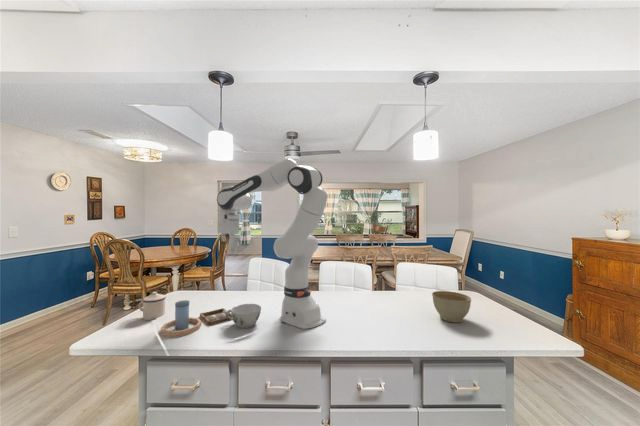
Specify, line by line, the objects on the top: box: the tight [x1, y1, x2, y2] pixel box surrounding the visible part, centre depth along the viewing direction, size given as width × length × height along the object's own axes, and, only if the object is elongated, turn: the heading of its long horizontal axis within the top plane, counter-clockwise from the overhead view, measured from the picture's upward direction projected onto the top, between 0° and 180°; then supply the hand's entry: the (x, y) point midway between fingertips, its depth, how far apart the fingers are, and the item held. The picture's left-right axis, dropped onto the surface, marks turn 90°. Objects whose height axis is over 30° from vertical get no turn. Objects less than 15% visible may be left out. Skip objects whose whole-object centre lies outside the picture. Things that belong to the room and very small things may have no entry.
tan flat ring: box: [160, 316, 202, 338], centre depth 103 cm, size 14×14×3 cm
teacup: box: [227, 303, 262, 329], centre depth 107 cm, size 15×12×8 cm
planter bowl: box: [431, 290, 472, 323], centre depth 116 cm, size 16×16×11 cm
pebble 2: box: [219, 313, 226, 319], centre depth 112 cm, size 3×3×3 cm
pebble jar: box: [174, 300, 190, 331], centre depth 103 cm, size 5×5×11 cm
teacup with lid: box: [138, 291, 167, 321], centre depth 118 cm, size 12×9×12 cm
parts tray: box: [199, 308, 232, 326], centre depth 114 cm, size 13×11×2 cm
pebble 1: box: [209, 315, 217, 321], centre depth 110 cm, size 3×3×3 cm
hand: (227, 242), depth 132 cm, fingers open, 8 cm apart
